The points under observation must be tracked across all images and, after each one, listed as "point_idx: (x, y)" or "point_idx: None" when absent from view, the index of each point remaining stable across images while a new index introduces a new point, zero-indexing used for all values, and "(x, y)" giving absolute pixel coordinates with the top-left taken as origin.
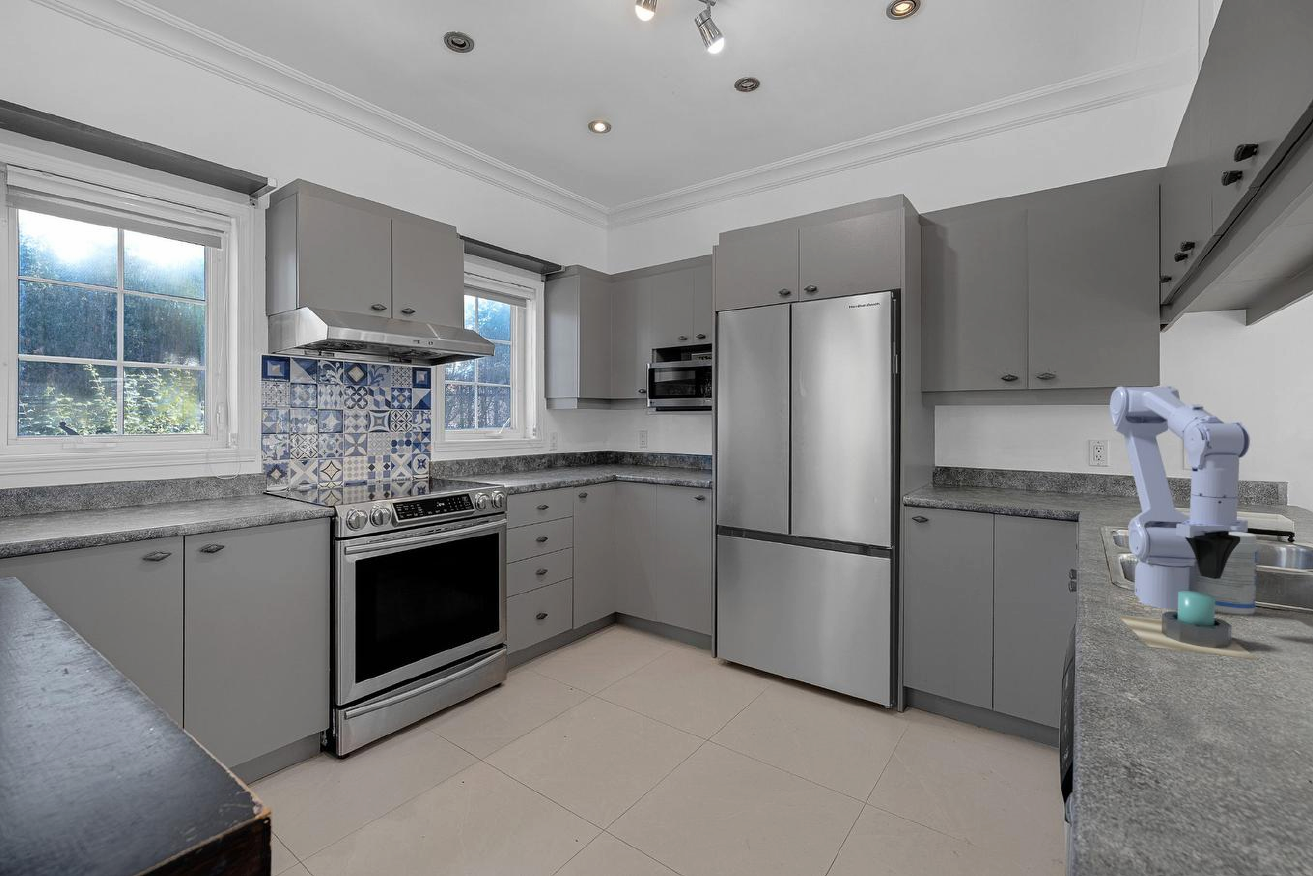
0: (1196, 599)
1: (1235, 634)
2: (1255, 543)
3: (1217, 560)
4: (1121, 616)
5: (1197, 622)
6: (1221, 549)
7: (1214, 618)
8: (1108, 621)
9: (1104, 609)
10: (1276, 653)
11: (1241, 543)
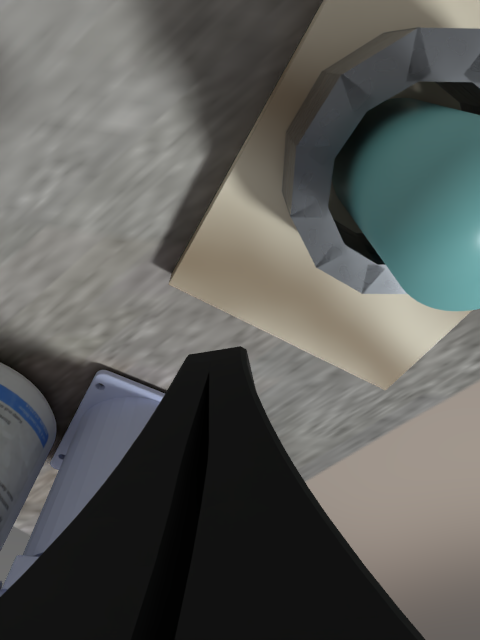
0: None
1: (113, 228)
2: None
3: (279, 449)
4: (391, 376)
5: None
6: (310, 577)
7: (399, 127)
8: (414, 374)
9: (315, 443)
10: (144, 5)
11: None
